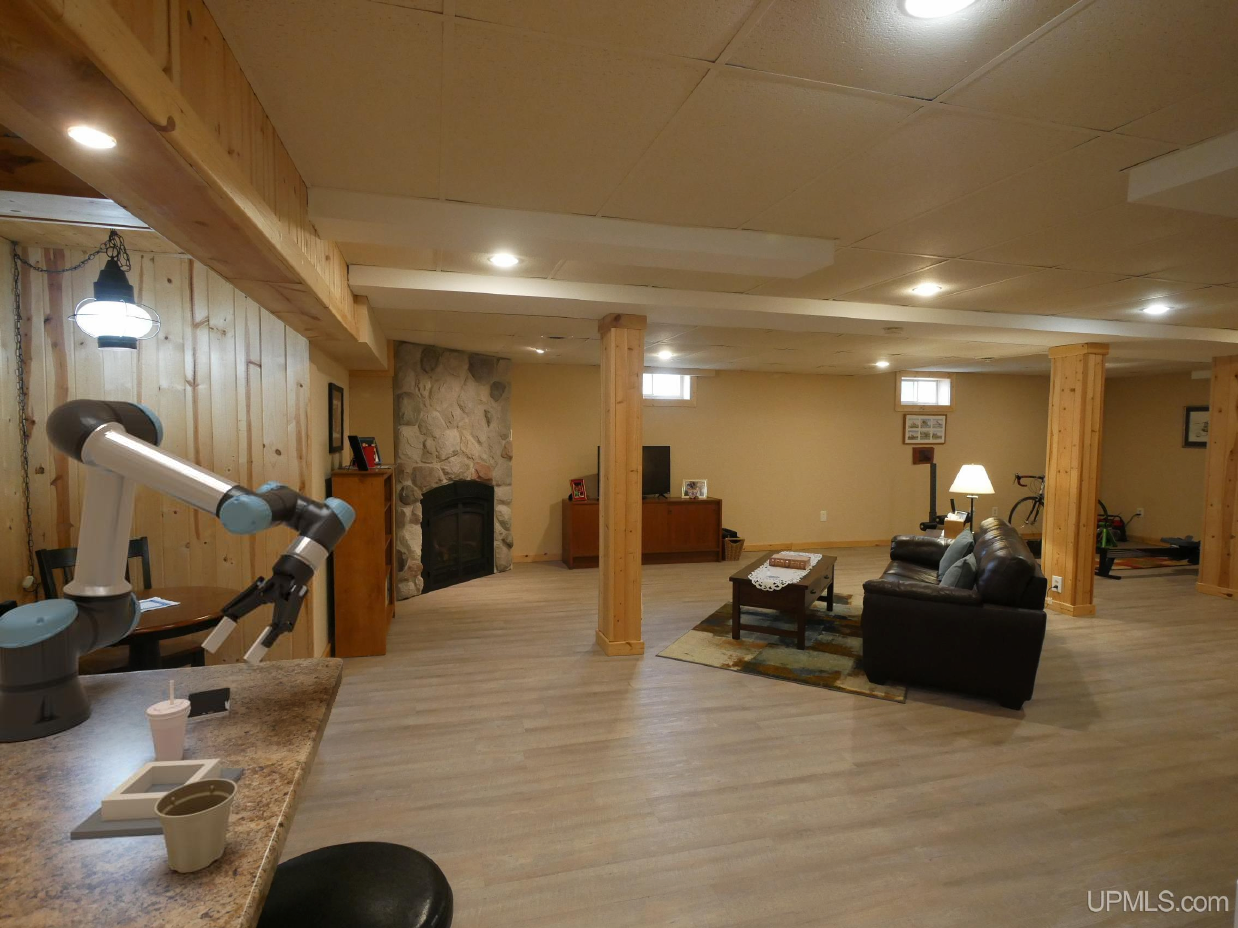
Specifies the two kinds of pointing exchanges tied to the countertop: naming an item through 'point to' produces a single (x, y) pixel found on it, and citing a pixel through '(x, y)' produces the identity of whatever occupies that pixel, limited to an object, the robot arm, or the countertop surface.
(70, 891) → the countertop surface
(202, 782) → the flower pot
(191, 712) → the smartphone
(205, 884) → the countertop surface
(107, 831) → the socket
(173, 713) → the smoothie
